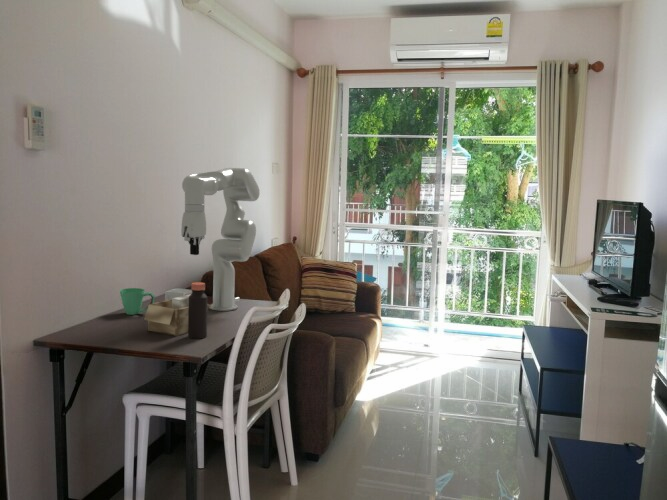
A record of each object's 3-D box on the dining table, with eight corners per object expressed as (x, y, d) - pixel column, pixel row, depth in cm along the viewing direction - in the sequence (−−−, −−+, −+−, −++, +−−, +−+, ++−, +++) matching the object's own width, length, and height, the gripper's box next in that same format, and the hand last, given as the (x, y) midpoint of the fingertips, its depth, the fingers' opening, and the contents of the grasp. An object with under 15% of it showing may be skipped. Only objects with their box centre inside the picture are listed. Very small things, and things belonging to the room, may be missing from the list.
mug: (115, 315, 232) (115, 291, 231) (126, 310, 242) (126, 287, 241) (149, 317, 231) (150, 293, 230) (159, 312, 241) (159, 289, 240)
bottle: (197, 333, 210) (198, 281, 208) (210, 336, 207) (211, 283, 205) (184, 336, 205) (184, 283, 202) (197, 340, 201) (198, 285, 199)
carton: (176, 321, 226) (176, 289, 224) (205, 327, 219) (206, 294, 217) (147, 330, 211) (147, 296, 210) (177, 336, 205) (177, 301, 203)
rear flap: (179, 297, 224) (179, 298, 224) (203, 301, 218) (203, 302, 218) (188, 302, 229) (188, 303, 229) (212, 306, 223) (211, 307, 223)
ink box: (183, 320, 228) (183, 293, 227) (164, 319, 230) (164, 291, 228) (192, 316, 236) (192, 289, 235) (173, 314, 238) (174, 287, 237)
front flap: (143, 319, 208) (144, 319, 208) (168, 324, 202) (169, 325, 202) (149, 304, 209) (149, 304, 210) (174, 308, 204) (174, 309, 204)
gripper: (199, 207, 227) (199, 251, 230) (174, 208, 214) (174, 255, 217) (214, 208, 224) (214, 253, 227) (189, 210, 211) (189, 257, 213)
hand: (194, 254), depth 222 cm, fingers closed
